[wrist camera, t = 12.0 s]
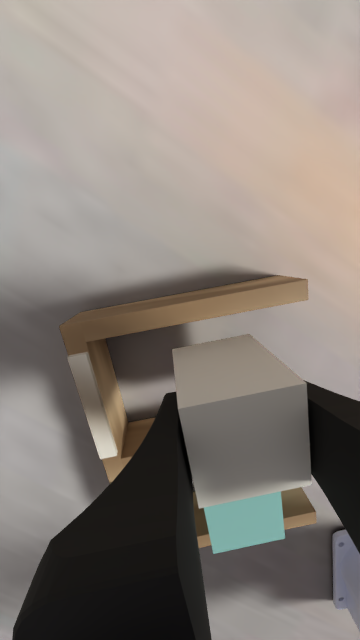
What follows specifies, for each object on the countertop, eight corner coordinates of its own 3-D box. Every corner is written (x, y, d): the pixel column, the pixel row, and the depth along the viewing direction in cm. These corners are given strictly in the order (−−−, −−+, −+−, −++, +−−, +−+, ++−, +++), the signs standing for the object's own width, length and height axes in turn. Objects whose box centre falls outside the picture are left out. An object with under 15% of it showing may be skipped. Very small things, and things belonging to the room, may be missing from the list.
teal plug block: (251, 462, 18) (285, 538, 13) (199, 473, 18) (213, 553, 13) (246, 417, 17) (279, 481, 12) (190, 428, 17) (201, 498, 12)
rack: (292, 481, 18) (319, 528, 15) (139, 513, 18) (134, 567, 15) (278, 275, 14) (311, 279, 11) (80, 312, 14) (56, 328, 11)
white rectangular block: (256, 401, 13) (311, 484, 8) (185, 416, 13) (198, 508, 8) (249, 334, 12) (306, 382, 7) (172, 349, 12) (178, 408, 7)
